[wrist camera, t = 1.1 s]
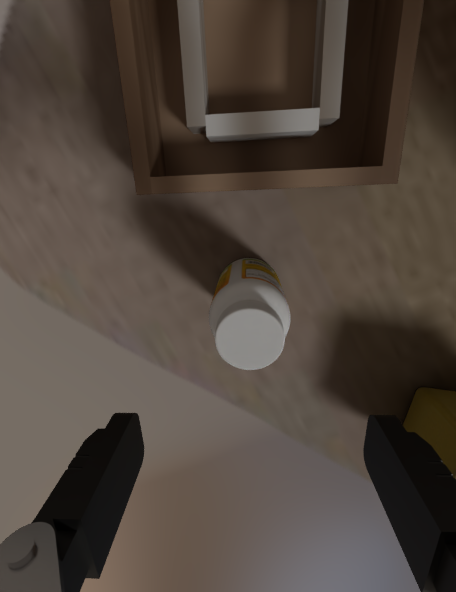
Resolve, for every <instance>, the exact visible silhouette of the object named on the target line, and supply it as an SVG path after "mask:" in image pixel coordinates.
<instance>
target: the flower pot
mask: <svg viewBox="0 0 456 592" xmlns="http://www.w3.org/2000/svg"><path fill="white" fill-rule="evenodd" d="M403 427H404V428H405V430H406V431H407V432H415V433H417V434H418V435H419V436H420V437H422V438H423V439H424V440H425V441H426V442H428V443H429V444H430V445H431V446H432V447H433V448H434V450H435V451H436V453H437V454H438V455H439V457H440V458H441V459H442V461H443V464H445V465H446V466H447V468H448V469H449V470H450V472H451V473H452V474H453V478H456V391H448V390H441V389H434V388H427V387H420V388H418V389H417V390H416V393H415V395H414V398H413V400H412V403H411V406H410V408H409V411H408V413H407V416H406V418H405V421H404V423H403Z"/></svg>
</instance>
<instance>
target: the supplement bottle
mask: <svg viewBox="0 0 456 592" xmlns="http://www.w3.org/2000/svg"><path fill="white" fill-rule="evenodd" d="M209 324H210V328H211V331H212V334H213V335H214V337H215V345H216V348H217V350H218V352H219V354H220V356H221V357H222V358H223V359H224V360H225V361H226V362H227V363H229V364H230V365H232V366H234V367H236V368H240V369H244V370H256V369H260V368H263V367H266V366H268V365H270V364H271V363H272V362H274V361H275V360H276V359H277V358H278V357H279V355H280V354H281V352H282V350H283V347H284V343H285V337H286V335H287V333H288V330H289V327H290V310H289V306H288V303H287V300H286V298H285V295H284V292H283V290H282V287H281V284H280V281H279V279H278V276H277V274H276V273H275V271H274V270H273V269H272V268H271V267H270V266H269V265H268V264H267V263H265V262H263V261H261V260H258V259H254V258H243V259H239V260H236V261H234V262H232V263H231V264H230V265H228V266H227V267H226V268H225V269H224V271H223V272H222V274H221V275H220V278H219V280H218V283H217V287H216V290H215V293H214V297H213V300H212V303H211V306H210V311H209Z"/></svg>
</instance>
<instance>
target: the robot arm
mask: <svg viewBox="0 0 456 592" xmlns="http://www.w3.org/2000/svg"><path fill="white" fill-rule="evenodd" d="M143 457H144V444H143V437H142V432H141V426H140V421H139V416H138V414H137V413H115V414H114V415H113V416H112V417H111V419H110V421H109V423H108V424H107V426H106V428H105V429H97V430H96V431H95V432H94V433H93V434H92V435H90V436H89V437H88V438H87V439H86V440H85V441H84V442H83V444H82V446H81V447H80V449H79V450H78V452H77V453H76V457H75V458H73V460H72V461H71V463H70V464H69V466H68V469H67V470H66V471H65V472H64V474H63V475H62V477H61V478H60V480H59V482H58V483H57V485H56V486H55V488H54V489H53V491H52V493H51V494H50V496H49V497H48V499H47V500H46V502H45V504H44V505H43V507H42V508H41V510H40V511H39V513H38V514H37V516H36V518H35V519H34V520H33V522H32V523H31V524H28V525H26V526H23V527H21V528H20V529H18V530H16V531H15V532H14V533H12V534H11V535H10V536H9V537H7V538H6V539H5V540H4V541H3V542H2V543H1V544H0V592H80V589H81V587H82V585H83V582H84V580H85V578H97V579H99V578H100V575H101V572H102V570H103V567H104V565H105V562H106V559H107V556H108V554H109V551H110V548H111V546H112V543H113V540H114V538H115V535H116V532H117V530H118V527H119V524H120V522H121V519H122V516H123V514H124V511H125V508H126V506H127V503H128V500H129V497H130V495H131V492H132V490H133V487H134V484H135V482H136V479H137V476H138V473H139V471H140V468H141V465H142V462H143ZM364 461H365V465H366V468H367V471H368V473H369V475H370V477H371V480H372V482H373V484H374V487H375V489H376V491H377V493H378V496H379V498H380V500H381V502H382V505H383V507H384V509H385V511H386V514H387V516H388V518H389V521H390V523H391V525H392V527H393V530H394V532H395V534H396V536H397V539H398V541H399V543H400V546H401V548H402V550H403V552H404V554H405V557H406V559H407V561H408V564H409V566H410V568H411V570H412V573H413V575H414V577H415V580H416V582H417V584H418V586H419V588H420V591H421V592H456V478H453V474H452V473H451V472H450V470H449V469H448V468H447V466H446V465H445V464H443V461H442V459H441V458H440V457H439V455H438V454H437V453H436V451H435V450H434V448H433V447H432V446H431V445H430V444H429V443H428V442H426V441H425V440H424V439H423V438H422V437H420V436H419V435H418V434H417V433H415V432H407V431H406V430H405V428H404V427H403V425H402V424H401V422H400V421H399V419H398V418H397V417H396V416H395V415H370V416H369V418H368V423H367V430H366V436H365V443H364Z"/></svg>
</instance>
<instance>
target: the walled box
mask: <svg viewBox="0 0 456 592" xmlns="http://www.w3.org/2000/svg"><path fill="white" fill-rule="evenodd" d="M110 6H111V13H112V21H113V28H114V35H115V42H116V49H117V56H118V64H119V71H120V78H121V85H122V92H123V100H124V107H125V114H126V121H127V128H128V135H129V143H130V150H131V157H132V164H133V171H134V179H135V186H136V193H137V195H144V194H167V193H190V192H212V191H235V190H258V189H281V188H304V187H327V186H350V185H373V184H396V183H398V177H399V170H400V163H401V156H402V149H403V142H404V136H405V129H406V122H407V115H408V108H409V101H410V95H411V88H412V81H413V74H414V67H415V60H416V54H417V47H418V40H419V33H420V26H421V19H422V12H423V6H424V0H110Z"/></svg>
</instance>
